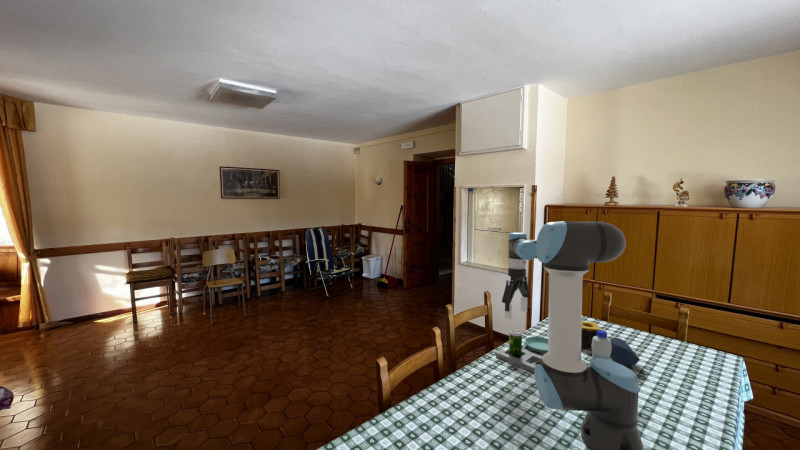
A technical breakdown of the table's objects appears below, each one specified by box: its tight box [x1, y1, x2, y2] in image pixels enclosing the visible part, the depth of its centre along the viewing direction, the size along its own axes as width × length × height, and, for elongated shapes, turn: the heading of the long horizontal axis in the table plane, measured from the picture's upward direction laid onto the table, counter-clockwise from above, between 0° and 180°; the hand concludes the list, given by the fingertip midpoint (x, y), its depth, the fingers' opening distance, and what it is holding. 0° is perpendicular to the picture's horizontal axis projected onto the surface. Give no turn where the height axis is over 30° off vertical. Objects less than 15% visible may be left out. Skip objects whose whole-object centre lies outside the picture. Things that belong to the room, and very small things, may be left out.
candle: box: [581, 320, 602, 350], centre depth 155 cm, size 10×10×10 cm
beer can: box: [508, 328, 523, 358], centre depth 142 cm, size 5×5×12 cm
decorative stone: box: [609, 337, 641, 367], centre depth 136 cm, size 12×12×10 cm
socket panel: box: [495, 344, 543, 373], centre depth 139 cm, size 12×22×2 cm, turn 41°
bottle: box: [591, 329, 612, 361], centre depth 123 cm, size 7×7×20 cm
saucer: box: [524, 336, 548, 354], centre depth 152 cm, size 15×15×3 cm
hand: (516, 314), depth 141 cm, fingers open, 13 cm apart
